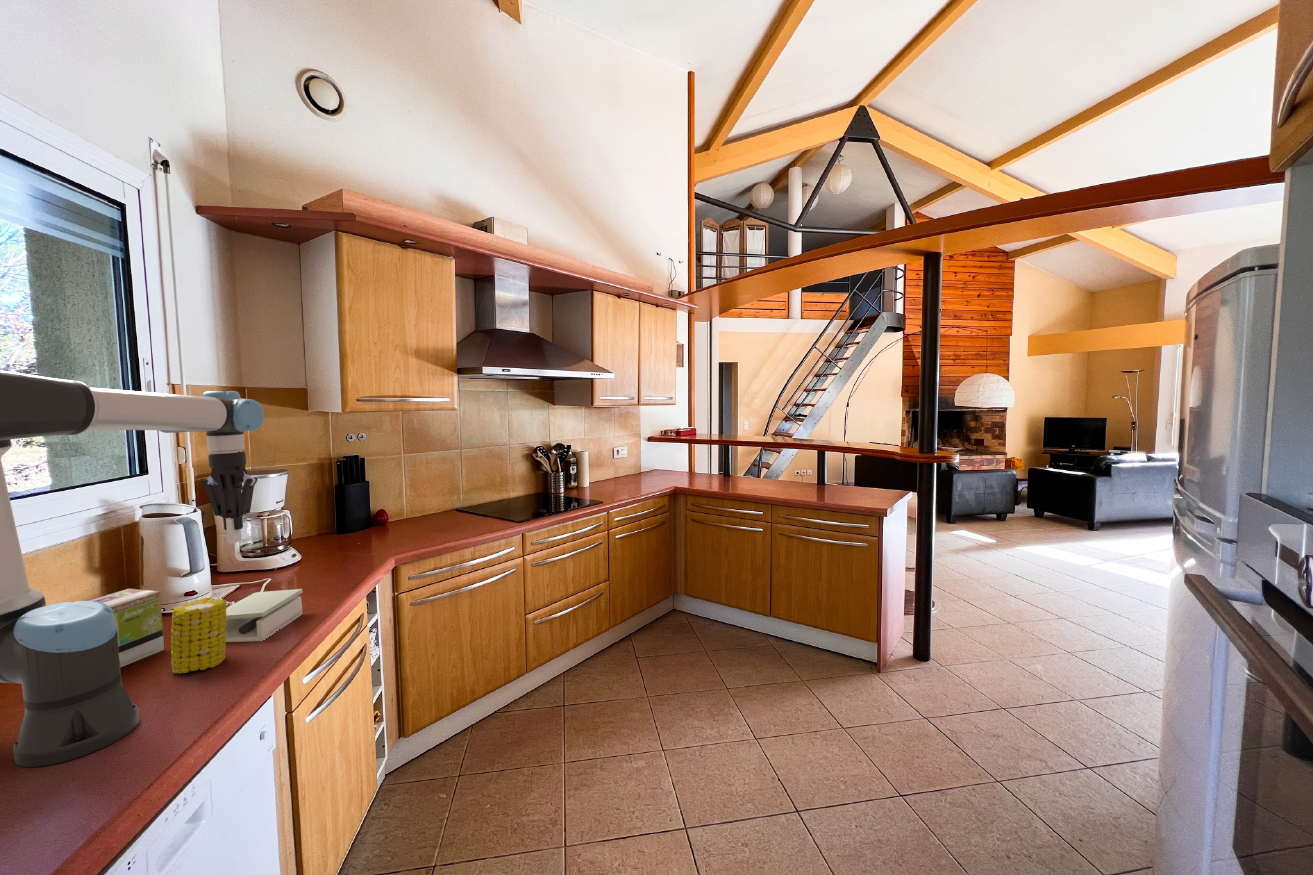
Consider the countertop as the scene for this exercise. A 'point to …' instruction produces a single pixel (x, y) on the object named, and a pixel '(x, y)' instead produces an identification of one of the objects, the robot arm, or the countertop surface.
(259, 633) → the cable duct
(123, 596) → the tea box
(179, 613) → the food
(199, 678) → the countertop surface
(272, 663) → the countertop surface
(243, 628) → the dark grey rod
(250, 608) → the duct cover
